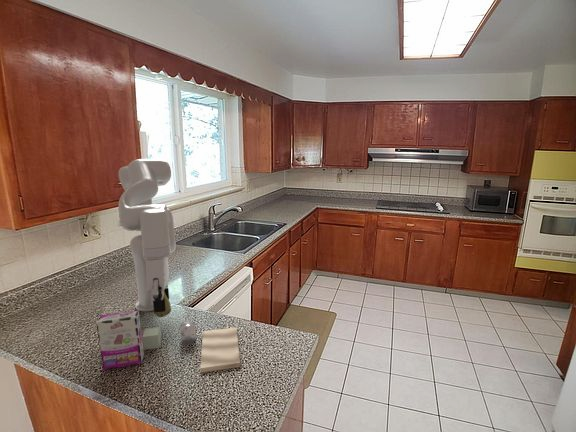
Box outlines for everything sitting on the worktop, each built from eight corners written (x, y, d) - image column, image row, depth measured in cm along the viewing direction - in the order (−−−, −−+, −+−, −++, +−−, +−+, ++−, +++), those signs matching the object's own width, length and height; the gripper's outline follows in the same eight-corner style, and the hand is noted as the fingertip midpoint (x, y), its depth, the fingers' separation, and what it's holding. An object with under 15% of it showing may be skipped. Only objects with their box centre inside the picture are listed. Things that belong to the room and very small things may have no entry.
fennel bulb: (164, 320, 94) (161, 283, 91) (150, 318, 95) (146, 282, 92) (174, 310, 100) (172, 275, 97) (160, 309, 100) (157, 274, 98)
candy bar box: (144, 354, 103) (139, 309, 100) (142, 364, 99) (136, 317, 95) (107, 360, 100) (100, 314, 97) (102, 370, 96) (95, 322, 92)
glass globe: (182, 336, 113) (180, 321, 112) (196, 335, 114) (195, 320, 113) (180, 345, 108) (179, 329, 107) (195, 343, 109) (194, 327, 108)
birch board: (203, 334, 114) (203, 331, 114) (236, 330, 117) (236, 327, 116) (200, 372, 95) (200, 368, 95) (240, 366, 98) (240, 362, 97)
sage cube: (146, 341, 111) (145, 328, 110) (161, 339, 112) (160, 326, 111) (143, 350, 106) (141, 336, 105) (159, 348, 107) (157, 334, 106)
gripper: (149, 242, 100) (154, 294, 104) (136, 261, 84) (142, 322, 87) (174, 241, 102) (178, 292, 106) (165, 259, 85) (170, 319, 89)
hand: (161, 305), depth 96 cm, fingers closed on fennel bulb, 6 cm apart
